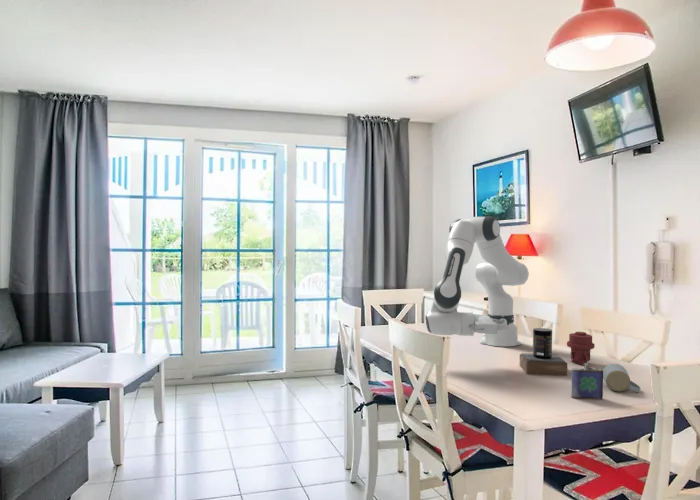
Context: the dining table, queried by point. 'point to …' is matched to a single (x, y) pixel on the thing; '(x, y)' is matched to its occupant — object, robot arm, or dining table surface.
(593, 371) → the flask
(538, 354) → the supplement container
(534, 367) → the walnut stand
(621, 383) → the ceramic mug
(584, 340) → the mechanical component
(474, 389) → the dining table surface
